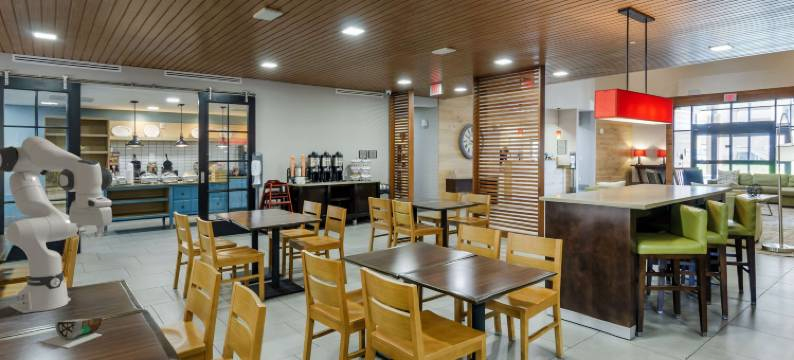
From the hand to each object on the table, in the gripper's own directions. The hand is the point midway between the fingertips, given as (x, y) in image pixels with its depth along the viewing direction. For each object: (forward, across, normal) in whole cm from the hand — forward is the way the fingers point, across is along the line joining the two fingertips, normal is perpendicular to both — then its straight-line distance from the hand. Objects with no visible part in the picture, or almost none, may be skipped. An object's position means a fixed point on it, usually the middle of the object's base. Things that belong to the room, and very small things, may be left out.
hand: (90, 235), depth 181 cm
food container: (+32, +12, -8) cm, 35 cm away
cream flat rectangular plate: (+34, +12, -16) cm, 39 cm away
